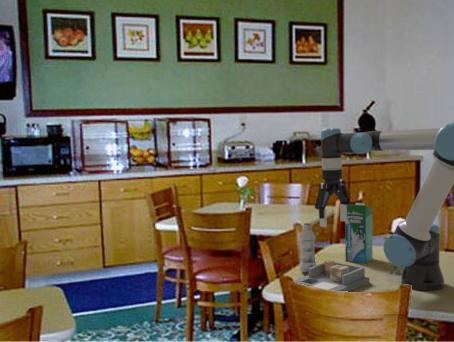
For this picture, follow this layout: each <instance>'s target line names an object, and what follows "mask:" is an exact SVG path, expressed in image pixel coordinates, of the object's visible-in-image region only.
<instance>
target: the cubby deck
mask: <svg viewBox="0 0 454 342" xmlns="http://www.w3.org/2000/svg"><path fill="white" fill-rule="evenodd" d="M335 265H342V266H347V267H349V273H347V274H344V275H342V283H339V282H335V281H330V276H327V275H325V262H323V263H319V264H316V266H314V267H311V268H308V269H309V273H308V274H306V275H305V276H301V277H300V278H297V279H293V280H294V281H295V282H297V283H300V284H304V285H307V286H312V287H316V288H321V289H327V290H335V291H350V290H352V291H355V290H357V289H359V288H361V287H363V286H365V285H368V284H370V277H367V276H366V273H365V272H366V270H365V269H366V268H365V267H361V266H358V265H352V264H347V263H341V262H336V261H335ZM350 292H351V291H350Z"/></svg>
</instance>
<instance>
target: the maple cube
mask: <svg viewBox="0 0 454 342" xmlns="http://www.w3.org/2000/svg"><path fill="white" fill-rule="evenodd" d="M347 273H349V267H347V266H342V265H335V266H332V267H330V281H335V282H339V283H342V275H344V274H347Z"/></svg>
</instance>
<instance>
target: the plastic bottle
mask: <svg viewBox="0 0 454 342" xmlns="http://www.w3.org/2000/svg"><path fill="white" fill-rule="evenodd" d="M301 228H302V231H301V232H300V234H299V237H298V239H299V245H300V261H299V270H300V272H301V273H303V274H309V269H308V268H311V267H314V266H317V262H316V257H315V249H316V248H315V245H316V234H315V233H314V232H313V230H312V229H313V224H312V223H308V222H307V223H306V222H305V223H302V227H301Z"/></svg>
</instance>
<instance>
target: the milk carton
mask: <svg viewBox="0 0 454 342" xmlns="http://www.w3.org/2000/svg"><path fill="white" fill-rule="evenodd" d="M344 224H345V225H344V227H345V228H344V229H345V231H344V233H345V235H344V236H345V240H344V241H345V243H344V244H345V246H344V247H345V253H344V254H345V262H350V261H351V263H352V262H353V263H359V264H366V263H368V262H369V261H371V260H372V259H373V207H372V206H370V205H369V206H368V205H366V204H365V203H364V202H363V203H362V202H355V204H347V221H344Z"/></svg>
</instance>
